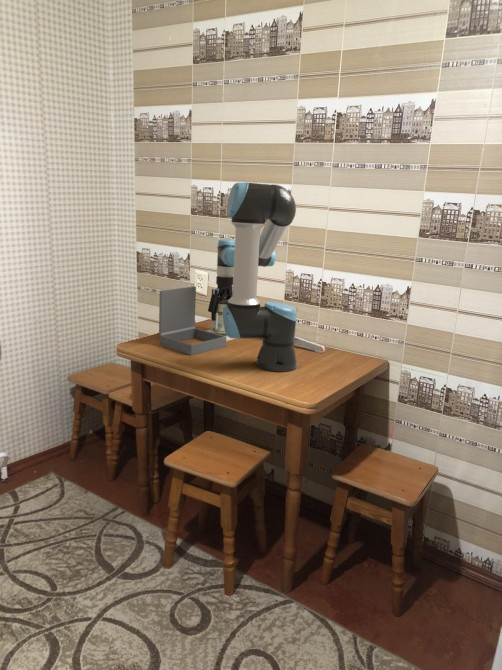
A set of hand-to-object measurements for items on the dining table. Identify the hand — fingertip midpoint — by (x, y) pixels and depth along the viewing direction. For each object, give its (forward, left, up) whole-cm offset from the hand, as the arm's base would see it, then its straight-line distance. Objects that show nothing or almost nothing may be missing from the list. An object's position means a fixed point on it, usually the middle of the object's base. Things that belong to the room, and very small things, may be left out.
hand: (222, 325), depth 234 cm
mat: (0, 0, -4) cm, 4 cm away
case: (-4, +22, -4) cm, 23 cm away
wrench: (-30, -11, -5) cm, 33 cm away
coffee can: (0, 0, -3) cm, 3 cm away
